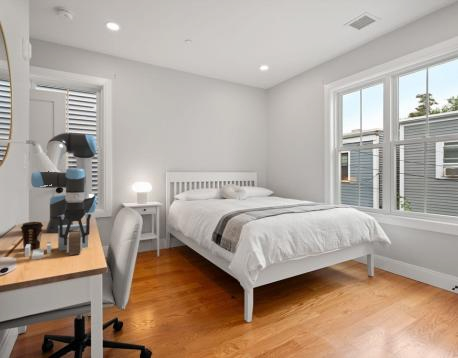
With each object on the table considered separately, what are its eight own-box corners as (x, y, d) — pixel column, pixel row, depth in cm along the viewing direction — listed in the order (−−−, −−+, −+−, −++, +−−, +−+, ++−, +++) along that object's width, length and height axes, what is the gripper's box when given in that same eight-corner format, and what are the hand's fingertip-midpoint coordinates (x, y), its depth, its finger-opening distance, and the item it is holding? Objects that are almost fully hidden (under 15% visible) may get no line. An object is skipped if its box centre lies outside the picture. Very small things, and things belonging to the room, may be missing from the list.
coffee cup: (39, 245, 132) (39, 220, 131) (45, 248, 127) (46, 222, 127) (18, 249, 124) (18, 223, 124) (24, 252, 120) (24, 225, 119)
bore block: (58, 248, 128) (58, 225, 128) (87, 244, 135) (87, 223, 135) (58, 250, 124) (58, 227, 123) (88, 247, 131) (88, 225, 131)
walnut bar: (68, 247, 128) (69, 231, 128) (79, 246, 130) (79, 230, 130) (68, 255, 116) (69, 237, 116) (80, 253, 118) (80, 236, 118)
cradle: (26, 252, 120) (26, 244, 120) (51, 249, 125) (51, 241, 125) (23, 260, 109) (23, 251, 109) (50, 257, 114) (50, 248, 114)
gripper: (51, 203, 111) (51, 256, 111) (97, 201, 121) (96, 250, 121) (52, 201, 117) (51, 251, 118) (95, 199, 127) (94, 246, 128)
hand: (74, 250), depth 120 cm, fingers closed on walnut bar, 5 cm apart
